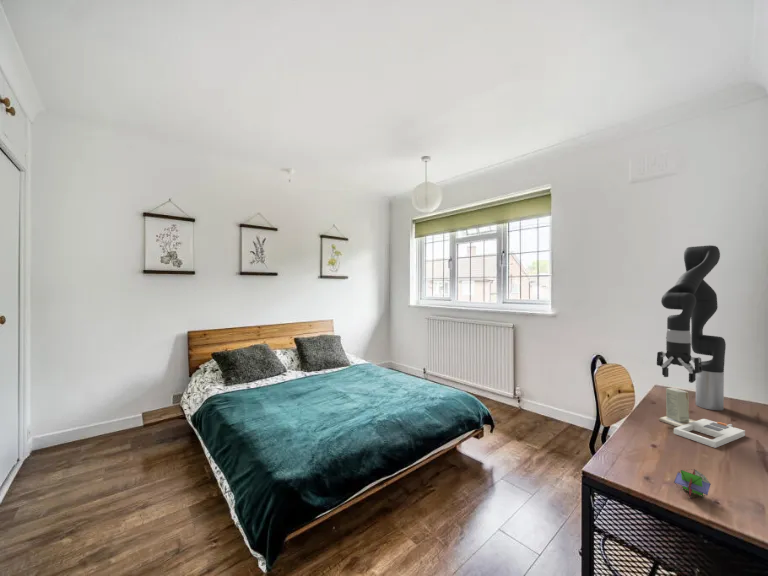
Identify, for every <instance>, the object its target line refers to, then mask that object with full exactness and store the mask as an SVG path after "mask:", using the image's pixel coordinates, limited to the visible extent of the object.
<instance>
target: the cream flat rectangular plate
mask: <svg viewBox="0 0 768 576" xmlns="http://www.w3.org/2000/svg"><path fill="white" fill-rule="evenodd" d="M658 421H660V422H662V423H666V424H668V425H671V426H674V427H679V426H682V425H685V424H688V423H691V422H694V421H697V420H695V419H692V418H689V422H678V421H676V420H674V419H671V418H669V417H667V415H665V416H661V417H659V418H658Z"/></svg>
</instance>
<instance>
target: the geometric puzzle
mask: <svg viewBox="0 0 768 576" xmlns="http://www.w3.org/2000/svg"><path fill="white" fill-rule="evenodd" d="M690 470H693V472H692V473H691V472H688V471H689V469H686V470H683V469H680V471H678V472H677V474H676V476H675V479H674V481H673V483H674V484H676V485H677V487H680V486H681V489H682V488H683V489H686V490H685V491H687V490H688V491H687V492H688V496H689V497H690V499H692V498H693V496H692V494H695V493H696V494H695V495H697V494H698V495H697V496H696V498H700V495H702V496H703V497H706V496H708V494H709V491H710V487H711V484H712V483H710V481H709V479H708V478H707V477H706V475H705V474H703V473H702V472H700V471H698V470H697V469H695V468H693V469H691V468H690ZM683 489H682V490H683ZM692 492H693V493H692ZM702 496H701V497H702ZM689 497H688V498H689Z"/></svg>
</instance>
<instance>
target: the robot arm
mask: <svg viewBox="0 0 768 576" xmlns="http://www.w3.org/2000/svg"><path fill="white" fill-rule="evenodd" d="M683 252H684V253H683V261H684V262H683V263H684V266H685V272H684V273H683V274H682V275H680V277H679V278H678V279H677V281H676V283H675V284H674V286H672V287H671V288H669V289H668V290H667V291H665V292H664V294H663V295H662V297H661V301H660V302H661V305H662V307H663V308H665V309H668V310H677V311H679V310H681V313H680V314H672V315H669V316H667V320H666V321H667V323H666V325H667V326H666V336H665V340H666V341H665V343H666V344H665V345H666V347H665V348H666V349H665V350H666V352H664V351H658V352H657V353H656V365H657V366H658V367H661V370H662V371H661V373H662V374H661V375H662V376H663V377H664V378H668V377H669V366H670V365H675V366H676V365H677V366H680V367H684V369H686V370H687V371H688V372H689V373H688V383H689V384H690V383H695V405H696V407H700V408H702V409H705V410H713V411H724V410H725V409H724V399H725V398H724V394H725V393H724V392H725V387H724V386H725V362H726V360H725V356H726V347H727V346H726V345H727V343H726V340H725V339H724V337H722V336H715V335H708V334H704V333H703V330H704V327H705V326H706V324H707V322H708V321H709V320H710V319H711V318H712V317H713V316H714V314H715V313H716V312H717V311H718V307H719V306H718V296H717V295H718V294H717V292H716V291H715V289H713V288H712V287H711V286H710V285H709V284H708V282H706V281H705V280H704V279H705V278H706V276H708V274H710V273H711V271H712V270H713V269H714V268H715V267H716V266H717V265H718V263H719V261H720V259H721V252H720V249H719V247H718V246H716V245H710V244H709V245H699V246H689V247H686V248H685V249H684V251H683ZM692 351H693V353H695V354H698V355H704V356H710V357H712V358H711V359H709V360H704V361H702V358H701V357H700V356H699V357H692V355H691V352H692ZM665 357H666V358H667V360H666V361H665V362H664V358H665ZM691 361H692V363H693V364H694V367H693V364H692V363H691Z"/></svg>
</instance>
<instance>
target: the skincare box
mask: <svg viewBox="0 0 768 576" xmlns="http://www.w3.org/2000/svg"><path fill="white" fill-rule="evenodd" d="M665 396H666V397H665V401H666V403H665V405H666V406H665V407H666V408H665V410H666V411H665V412H666V413H665V414H666V415H665V416H667V417H669V418H671V419H674V420H676V421H678V422H689V419H690V410H689V409H690V408H689V407H690V404H689V402H690V400H689V399H690V398H689V392H688V391H685V390H683V389H680V388H676V387H665Z"/></svg>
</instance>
